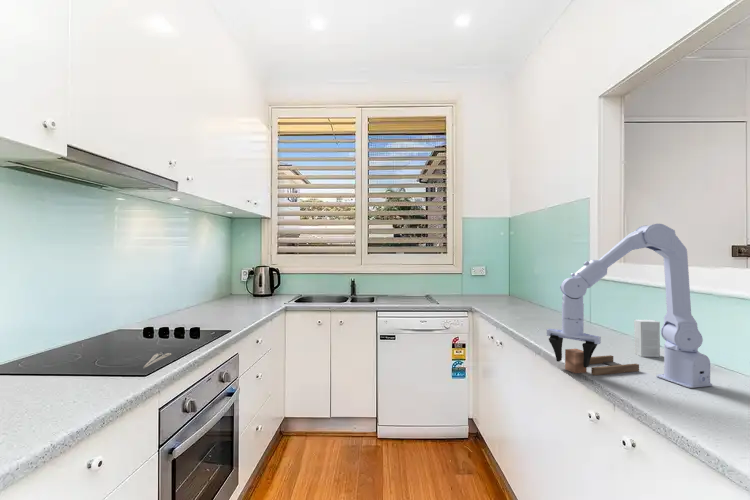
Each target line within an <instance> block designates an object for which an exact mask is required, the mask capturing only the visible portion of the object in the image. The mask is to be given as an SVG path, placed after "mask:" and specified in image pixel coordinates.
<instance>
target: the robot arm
mask: <svg viewBox="0 0 750 500" xmlns="http://www.w3.org/2000/svg"><path fill="white" fill-rule="evenodd" d="M639 249H641V250H642V249H648V250H652V251H653V252H654V253H657V255H658V254H659V255H660V256H661V257H662V258H663V267H664V271H663V272H664V283H665V285H664V286H665V297H666V298H665V301H666V303H665V304H666V313H665V315H664V317H663V325H662V326H661V327H660V328H661V329H660V336H661V337H662V338H663V339H664V340H665V342H664V345H663V346H664V348H663V349H664V353H663V355H664V357H663V358H664V359H663V362H664V364H663V365H664V366H663V367H664V368H663V374H662V373H660V374H656V375H655V376H656V378H660V379H662V380H665V381H669V382H670V383H671V382H672V383H673V384H677V385H680V386H683V387H685V388H688V389H693V388H703V387H712V386H713V383H711V360H710V358H709V357H708V356H707V355H706V354H704V353H701V352H700V351H699V348H700V347H701V346H702V344H703V341H704V339H703V335H702V333H701V332H700V331H699V327H698V323H697V320H696V319H695V318H694V316H693V315H692V308H691V307H692V306H691V289H690V273H689V272H690V271H689V260H688V258H689V257H688V249H687V247H686V246H685V245H684V243H683V242H682V241H681V240H680V238H679V237H678V236H677V234H676V230H675V229H673V228H671V227H670V226H668V225H665V224H663V223H653V224H650V225H648V224H647V225H641V226H639V227H638V228H636V229H635V231H632V232H629V234H627V235H626V236H625V237H623V238H622V239H621V240H620V241H619V242H617V243H616V244H615V245H614V246H612V247H611V249H609V250H608V251H607V252H606V253H604V255H602V256H600V258H599V259H591V260H589V261H588V260H586V261H584V262H583V266H582V267H580V268H579V269H578V270H577V271H575V272H572V273H570V276H571V277H567V278H565V279H564V280H563V281H562V282H561V285H560V287H559V289H560V291H561V292H562V303H561V329H557V328H556V329H555V328H547V329H546V336H548V341H549V343H550V345H551V347H552V349H553V353H554V356H555V360H556V362H561V361H562V358H563V353H562V352H563V350H562V348H563V341H564V339H567V340H568V339H569V340H573V341H580V342H583V343H582V351H583V352H584V362H583V365H584V367H586V368H588V367H589V366H590V364H589V362H590V359H591V357H593V356H592V355H593V353H594V351H595V350H596V348H597V346H598V345H601V343H602V341H601V340H602V339H601V338H602V337H601V336H598V335H593V334H588V333H586V332H584V330H585V329H584V328H585V327H584V323H585V322H584V320H585V319H584V316H585V315H584V312H585V311H584V310H585V309H584V307H585V303H584V296H585V295H586V294H587V289H590V288H591V287H593V286H594V285H595V284H596V283H598V282H599V281H600V280H602V279H603V278H604V277H605V276H607V275H608V270H609V269H608V268H609V267H611V266H612V265H614V264H615V263H616V262H618V261H619V260H621V259H622V258H623V257H624V256H626V255H628V253H631V252H632V251H635V250H639Z"/></svg>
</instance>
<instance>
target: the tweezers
mask: <svg viewBox="0 0 750 500" xmlns="http://www.w3.org/2000/svg"><path fill="white" fill-rule="evenodd" d="M162 354H163V353H155V354H154V355H152V357H151V359H149V360H148V361H147V363H146V364H145V365H144V366H143V368H147V367H149V366H150V365H152V364H154V363H157V362H159V361H161V360H163V359H165V358H167V357H170V356H171V355H172V353H169V352H167V353H164V354H163V355H162ZM159 356H160V357H159Z"/></svg>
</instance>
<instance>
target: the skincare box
mask: <svg viewBox="0 0 750 500" xmlns="http://www.w3.org/2000/svg"><path fill="white" fill-rule="evenodd" d="M633 322H634V354H635V355H637V356H639V357H642V358H660V357H661V340H660V338H661V329H660V328H661V327H660V326H661V325H660V323H661V322H660V321H657V320H654V319H634V320H633Z"/></svg>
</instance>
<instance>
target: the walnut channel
mask: <svg viewBox="0 0 750 500" xmlns="http://www.w3.org/2000/svg"><path fill="white" fill-rule="evenodd" d="M597 364H598V365H599V364H600V365H601V364H604V365H605V366H592V367H591V369H590V370H591V374H590V375H592V376H601V375H613V374H614V375H615V374H623V373H635V372H640V364H638V363H629V364H628V363H627V364H621V363H618V362H615V361H614V356H613V355H610V354H609V355H597V356H596V355H595V356H591V359H590V362H589V365H597Z"/></svg>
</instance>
